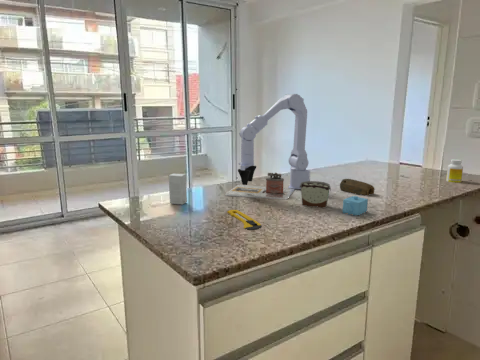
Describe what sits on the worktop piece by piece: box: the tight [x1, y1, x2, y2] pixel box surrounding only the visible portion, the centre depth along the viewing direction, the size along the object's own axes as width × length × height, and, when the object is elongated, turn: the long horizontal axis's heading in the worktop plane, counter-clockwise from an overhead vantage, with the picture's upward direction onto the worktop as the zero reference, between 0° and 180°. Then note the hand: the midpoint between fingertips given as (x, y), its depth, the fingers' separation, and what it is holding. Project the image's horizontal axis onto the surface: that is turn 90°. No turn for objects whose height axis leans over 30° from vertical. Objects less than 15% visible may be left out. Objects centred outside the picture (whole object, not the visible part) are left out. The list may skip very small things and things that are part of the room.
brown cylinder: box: [339, 178, 375, 196], centre depth 165 cm, size 15×7×7 cm, turn 43°
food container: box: [299, 180, 332, 208], centre depth 146 cm, size 12×6×10 cm, turn 65°
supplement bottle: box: [445, 158, 464, 183], centre depth 183 cm, size 7×7×13 cm
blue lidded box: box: [342, 195, 369, 216], centre depth 135 cm, size 12×6×8 cm, turn 136°
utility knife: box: [226, 209, 263, 231], centre depth 130 cm, size 7×22×2 cm, turn 26°
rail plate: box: [224, 184, 296, 200], centre depth 168 cm, size 28×18×1 cm, turn 72°
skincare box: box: [168, 173, 188, 206], centre depth 151 cm, size 6×4×12 cm
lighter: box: [265, 172, 285, 195], centre depth 165 cm, size 8×3×10 cm, turn 78°
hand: (247, 182), depth 169 cm, fingers open, 7 cm apart
